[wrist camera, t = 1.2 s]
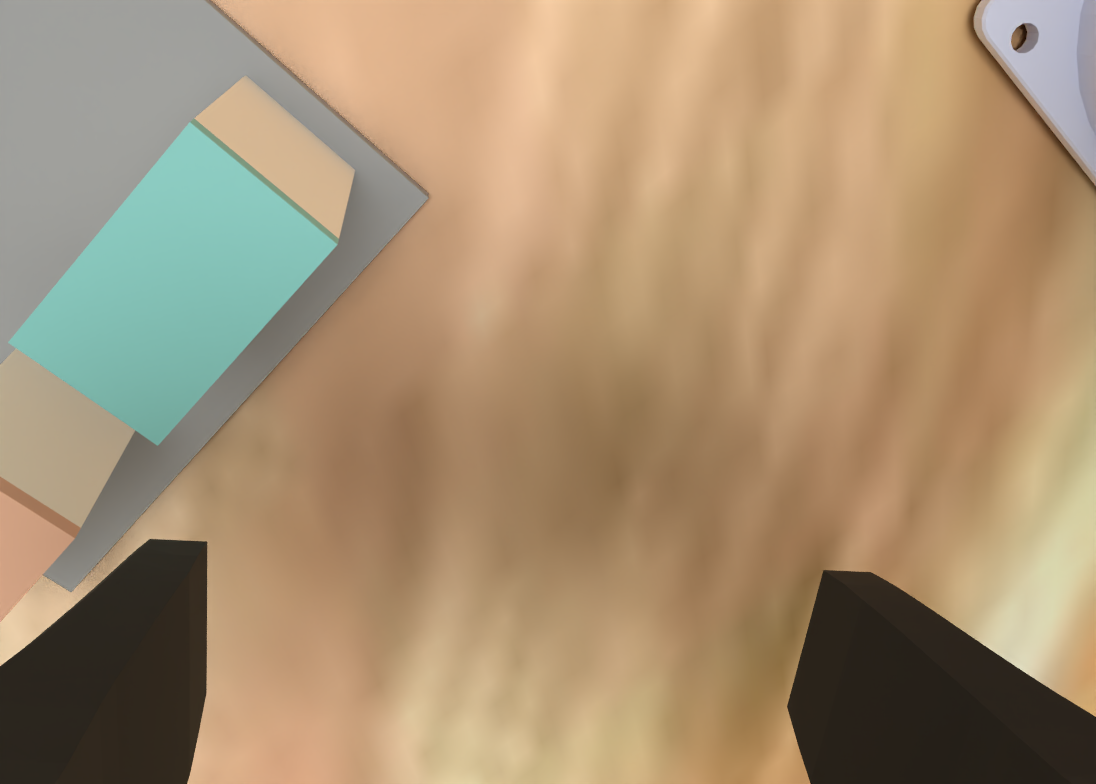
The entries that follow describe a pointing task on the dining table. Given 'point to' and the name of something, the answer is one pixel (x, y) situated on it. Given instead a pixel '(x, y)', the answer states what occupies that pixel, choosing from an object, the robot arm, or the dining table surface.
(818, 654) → the robot arm
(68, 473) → the slab
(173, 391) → the slab
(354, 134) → the mat
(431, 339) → the dining table surface
